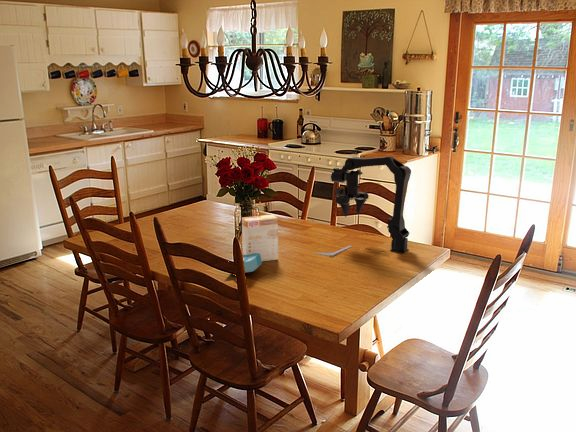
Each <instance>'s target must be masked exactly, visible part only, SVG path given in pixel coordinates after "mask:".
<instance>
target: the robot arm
mask: <svg viewBox="0 0 576 432" xmlns="http://www.w3.org/2000/svg"><path fill="white" fill-rule="evenodd" d="M376 166H377V167H378V166H386V167H387V168H388V170H389V171H390V172H391V173H392V174H393V178H394V179H393V180H394V184H395V193H394V202H393V212H392V213H393V214H392V216H391V217H390V218H388V219H387V227H386V228H387V230H388V233H389V234H390V236H391V237H390V238H391V246H390V247H391V248H390V252H395V253H400V254H404V253H406V252H408V251H410V250H409V248H408V242H409V241H408V240H409V239H408V237H409V235H410V231H409V230H408V229H407V227H406V225H405V219H404V210H405V200H406V193H407V192H406V191H407V185H408V183H409V181H410V178H411V176H412V175H411V174H412V170H411V168H410V167H409V166H407V165H404V163H402V162H401V161H399V160H397V159H396V158H395V157H394V156H392V155H388V156H380V157H369V158H367V157H361V156H360V157H359V156H352V157H348V158H346V159H345V162H344V165H343V166H342V167H341V168H338V167H333V168H332V172H331V174H330V180H331V182H332V183H343V184H344V183H345V185H344V186H343V188H340V187H336V188H335V189H334V194H335V195H336V196H335V198H334V200H335V201H334V202H335V203H336V204H337V205H339V206H340V208H341V210H342V213H343V215H344V217H346V218H347V216H348V213H349V210H350V201H352V200H354V201H355V203H356V204H355V207H356V208H355V210H356V214H360V213H361V210H362V208H363V206H364V204H365V203H366V201H367V200H368V199H369V194H368V192H363V191H359V189H360V188H361V185H359V176H361V175H363V174H364V173H363V171H361V170H360V168H364V167H376Z"/></svg>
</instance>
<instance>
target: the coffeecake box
mask: <svg viewBox="0 0 576 432" xmlns="http://www.w3.org/2000/svg"><path fill="white" fill-rule="evenodd" d="M241 241H242V244H241V247H242V255H248V254H255V253H260V256H261V261H262V262H268V261H270V262H271V261H276V260H279V218H278V216H276V215H275V214H265V215H255V216H253V215H252V216H244V217H241Z"/></svg>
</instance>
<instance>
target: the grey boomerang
mask: <svg viewBox="0 0 576 432" xmlns="http://www.w3.org/2000/svg"><path fill="white" fill-rule="evenodd" d="M352 247H353V246H352V245H348V246H345V247H342V248H340V249H339V250H336V251H334V252H313V254H314V253H315V254H318V255H323V256H326V257H330V258H333V257H335V256H337V255H338V254H341V253H342V252H344V251H346V250H347V249H350V248H352Z"/></svg>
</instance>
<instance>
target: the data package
mask: <svg viewBox="0 0 576 432" xmlns="http://www.w3.org/2000/svg"><path fill="white" fill-rule="evenodd" d="M242 255H243V254H242ZM229 261H233V258H231V259H230V260H229ZM243 261H244V267H245V273H251V272H254V271H256V270H257V269H258V268H259V266H261V265H262V264H263V261H261V256H260V253H255V254H248V255H243Z"/></svg>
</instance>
